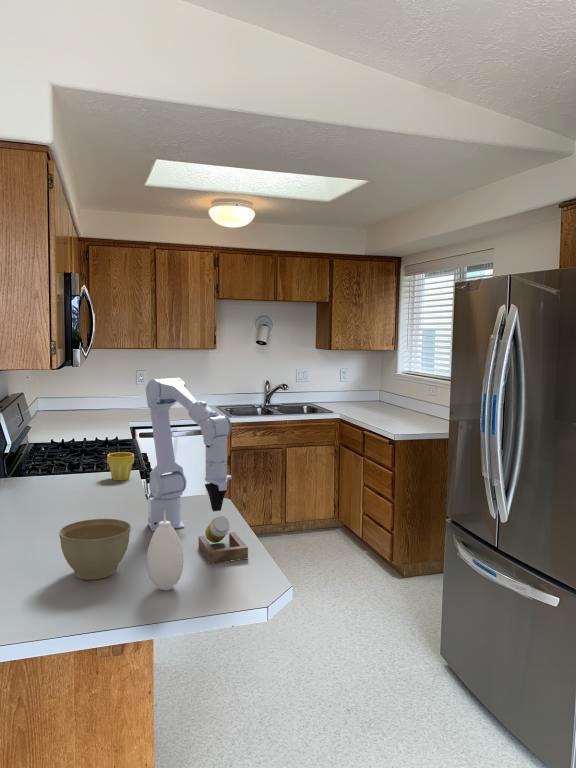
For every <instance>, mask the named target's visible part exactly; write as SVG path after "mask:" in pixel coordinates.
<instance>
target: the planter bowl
mask: <svg viewBox="0 0 576 768" xmlns="http://www.w3.org/2000/svg"><path fill="white" fill-rule="evenodd" d="M130 533H131V524H130V523H129V522H128V521H126V520H122V519H118V518H117V519H116V518H91V519H84V520H79V521H75V522H71V523H69V524H67V525H64V526H62V527H61V528H60V529H59V531H58V535H59V539H60V547H61V551H62V553H63V556H64V559H65V560H66V563H67V564H68V566H69V567H70V568H71V569H72V570H73V572H74V576H75V577H76V578H79V579H80V580H81V579H82V580H99V579H104V578H107V577H110V576H112V575H114V574H116V572H117V570H118V569H117V568H118V566H119V564H120V563H121V562H122V560H123V558H124V557H125V554H126V553H127V550H128V548H129V547H128V546H129V542H130Z"/></svg>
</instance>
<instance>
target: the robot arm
mask: <svg viewBox="0 0 576 768" xmlns="http://www.w3.org/2000/svg"><path fill="white" fill-rule="evenodd" d="M145 395H146V396H145V397H146V403H147V407H148V408H149V410H150V417H151V418H150V419H151V425H152V433H153V440H154V441H153V442H154V443H153V444H154V448H155V449H154V450H155V458H156V466H155V467H154V468H152V469H151V471H150V472H149V483H148V487H149V491H150V493H151V495H152V496H153V497H149V498H148V502H147V508H148V509H147V511H148V513H147V514H148V516H147V523H148V526H149V528H150V530H151V532H155V531H156V529H157V528H158V527H159V522H161V521H164V510H165V513H166V521H170V522H171V526H172V527H173V528H174V529H179V528H180V529H181V528H184V527H185V525H184V523H183V522H182V520H181V519H182V518H181V517H182V516H181V515H182V514H181V512H182V509H181V504H182V503H181V502H182V501H181V496H183V493H184V492H185V490H186V489H187V482H188V481H187V479H186V476H185V474H184V468H183V467H182V466H181V465H180V464H178V463H177V462H176V461H175V460H176V459H175V451H174V445H173V444H174V443H173V437H172V429H171V421H170V420H171V419H170V414H169V410H170V409H171V407H172V406H175V404H176V403H179V405H181V406H182V407H184V409H186V410H188V412H187V413H188V416H189V418H190V419H191V420H192V421H193V422H195V424H197V425H198V426H199V428H200V433H201V435H202V439H203V440H202V441H203V444H204V446H205V477H204V480H205V482H207V483H205V484H204V486H205V489H206V491H207V493H208V494H207V495H208V499H209V501H210V506H211V507H210V508H211V510H212V511H213V512H220V511H222V507H223V502H224V498H225V495H226V493H227V491H228V490H229V486H228V481H229V480H232V475H231V474H228V436H229V435H230V434H231V432H232V427H233V426H232V422H231V420H230V418H229V417H228V416H227V415H226V414H218V413H217V411H216V410H214V409H212V408H211V407H210V406H209V405H208V403H207V402H206V401H205V400H197V399H196V398H195V397H194V395H192V394H191V392H190V391H189V390H188V389H187V388H186V382H184V380H182V378H180V377H173V378H151V379H149V381H148V383H147V385H146V386H145Z"/></svg>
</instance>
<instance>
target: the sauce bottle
mask: <svg viewBox="0 0 576 768" xmlns="http://www.w3.org/2000/svg"><path fill="white" fill-rule="evenodd" d="M146 553H147V554H146V569H147V573H148V577H149V580H150V582H151V583H152V585H153V586H155V587H157V589H158V590H161V591H163V590H165V591H164V592H166V590H167V591H169V590H170V589H173V588H174V586H175V585H177V584H178V582H179V581H180V579H181V576H182V574H183V569H184V551H183V547H182V542H181V539H180V538H179V536H178V533H177V532H176V530H175V528H173V527H172V526H171V522H170V521H166V513H165V510H164V521H161V522H159V527H158V528H157V529H156V531H153V534H152V537H151V539H150V542H149V545H148V549H147V552H146Z"/></svg>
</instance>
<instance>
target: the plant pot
mask: <svg viewBox="0 0 576 768" xmlns="http://www.w3.org/2000/svg"><path fill="white" fill-rule="evenodd" d="M106 460H107V461H106V464H108V465H109V471H110V475H111V480H112V479H113V480H112V481H116V480H123V481H127V480H126V479H128V480H130V477H131V471H132V467H133V464H134V462H135V454H134V453H132V452H129V451H128V452H127V451H121V452H119V451H118V452H112V453H108V454H107V455H106Z"/></svg>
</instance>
